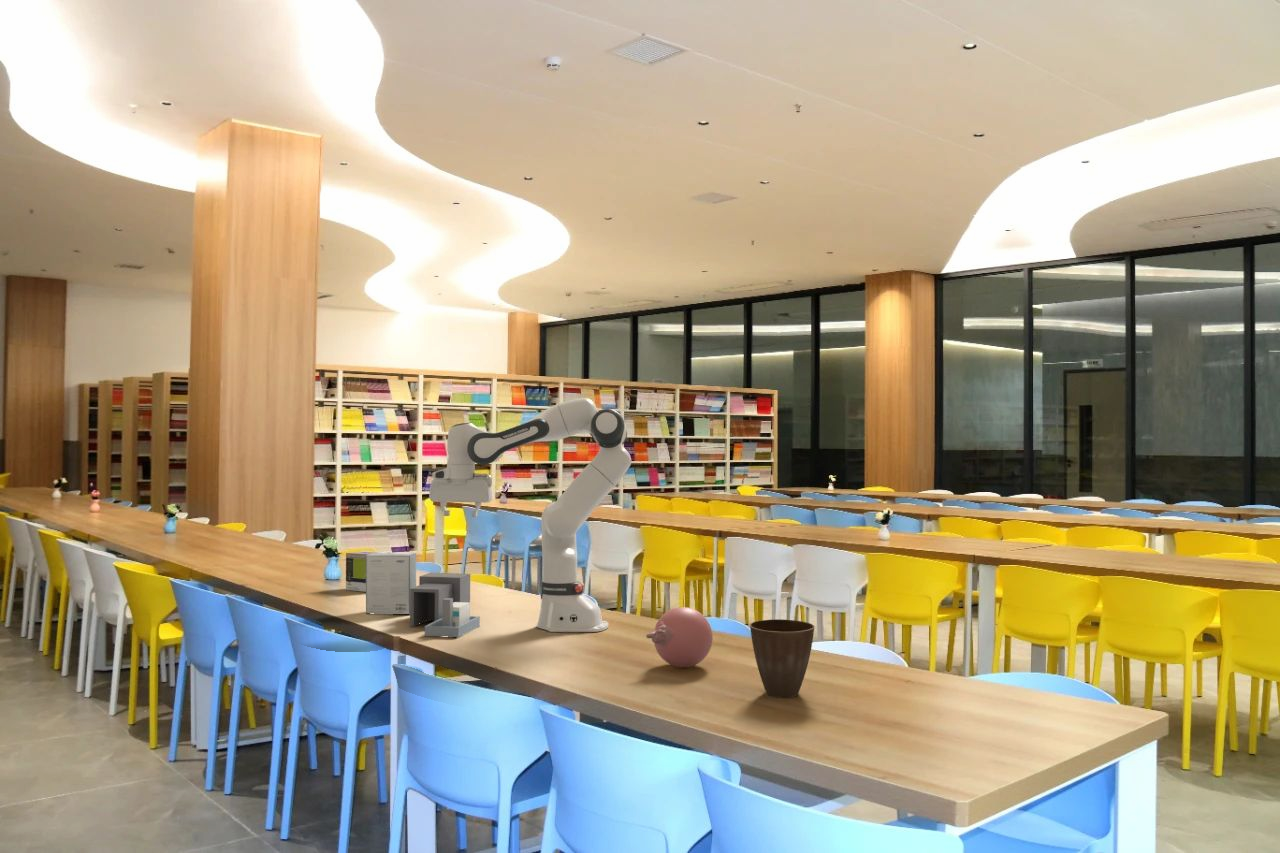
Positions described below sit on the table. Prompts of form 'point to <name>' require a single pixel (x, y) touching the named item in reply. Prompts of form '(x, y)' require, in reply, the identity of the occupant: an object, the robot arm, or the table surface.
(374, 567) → the hard drive box
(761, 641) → the plant pot
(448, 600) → the white box teal stripe
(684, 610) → the pink balloon
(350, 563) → the tea box
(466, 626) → the tray
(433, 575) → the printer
